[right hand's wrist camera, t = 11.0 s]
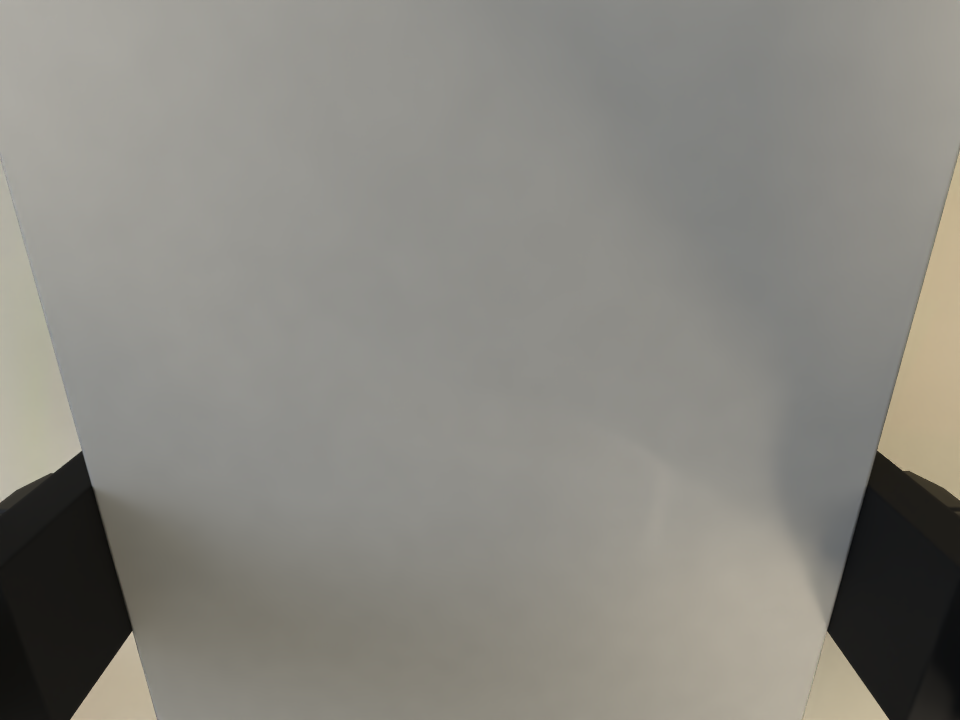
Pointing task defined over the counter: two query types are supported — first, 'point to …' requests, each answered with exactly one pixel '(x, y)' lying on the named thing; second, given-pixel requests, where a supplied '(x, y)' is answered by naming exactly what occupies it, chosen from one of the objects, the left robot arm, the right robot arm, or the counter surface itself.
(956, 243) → the counter surface
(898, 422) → the counter surface
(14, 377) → the counter surface
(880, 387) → the cabinet
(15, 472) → the counter surface
